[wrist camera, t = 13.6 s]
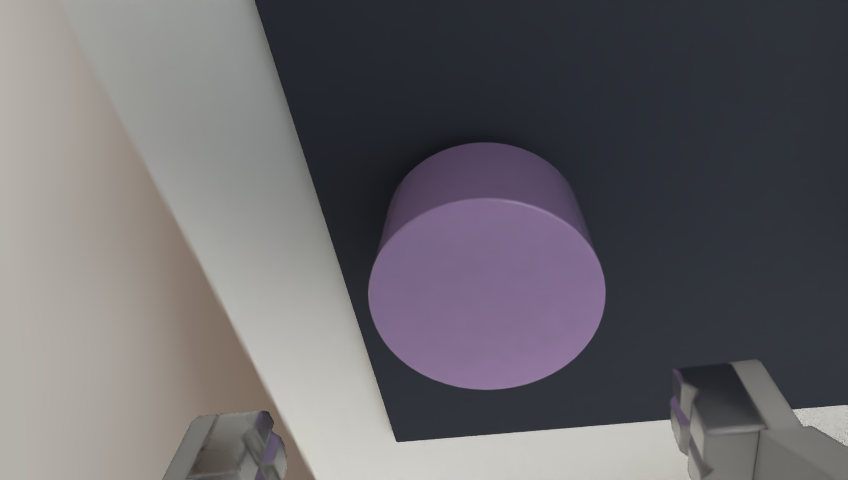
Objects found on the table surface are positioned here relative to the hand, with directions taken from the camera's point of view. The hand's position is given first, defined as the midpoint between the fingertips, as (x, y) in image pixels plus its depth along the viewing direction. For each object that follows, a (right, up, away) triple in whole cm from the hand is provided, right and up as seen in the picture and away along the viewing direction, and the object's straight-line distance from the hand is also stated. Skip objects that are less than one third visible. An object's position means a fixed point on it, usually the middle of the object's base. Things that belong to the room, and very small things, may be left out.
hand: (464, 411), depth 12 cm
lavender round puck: (+1, +4, +7) cm, 8 cm away
